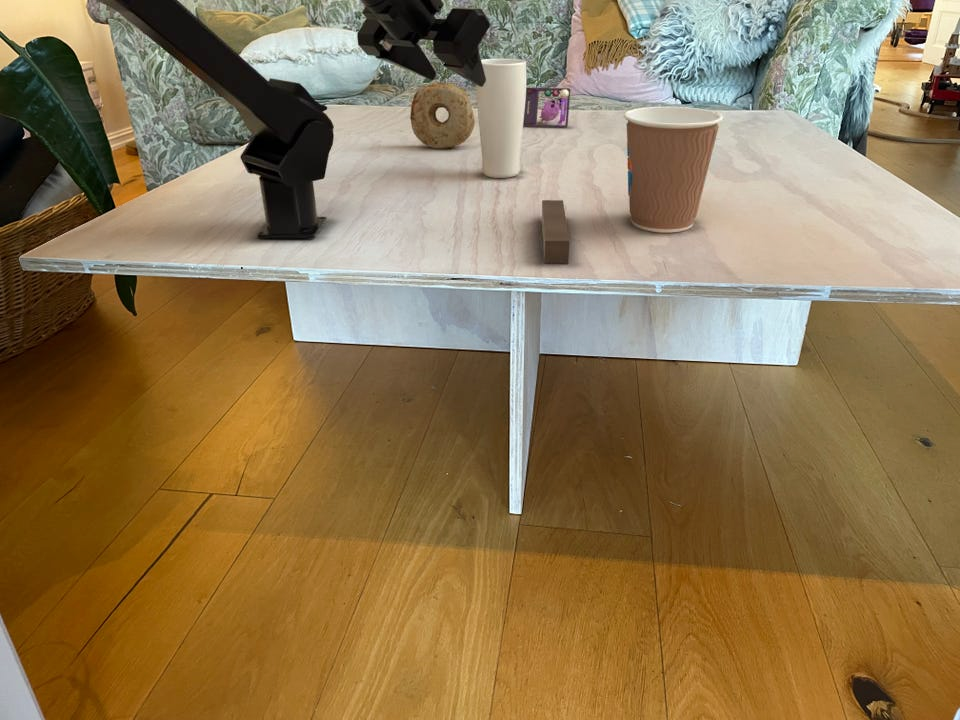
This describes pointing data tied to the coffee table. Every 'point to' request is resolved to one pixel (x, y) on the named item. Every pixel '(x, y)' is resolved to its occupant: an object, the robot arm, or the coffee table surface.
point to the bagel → (430, 126)
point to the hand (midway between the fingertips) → (457, 80)
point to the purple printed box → (546, 106)
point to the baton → (555, 232)
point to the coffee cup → (668, 164)
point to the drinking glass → (501, 116)
